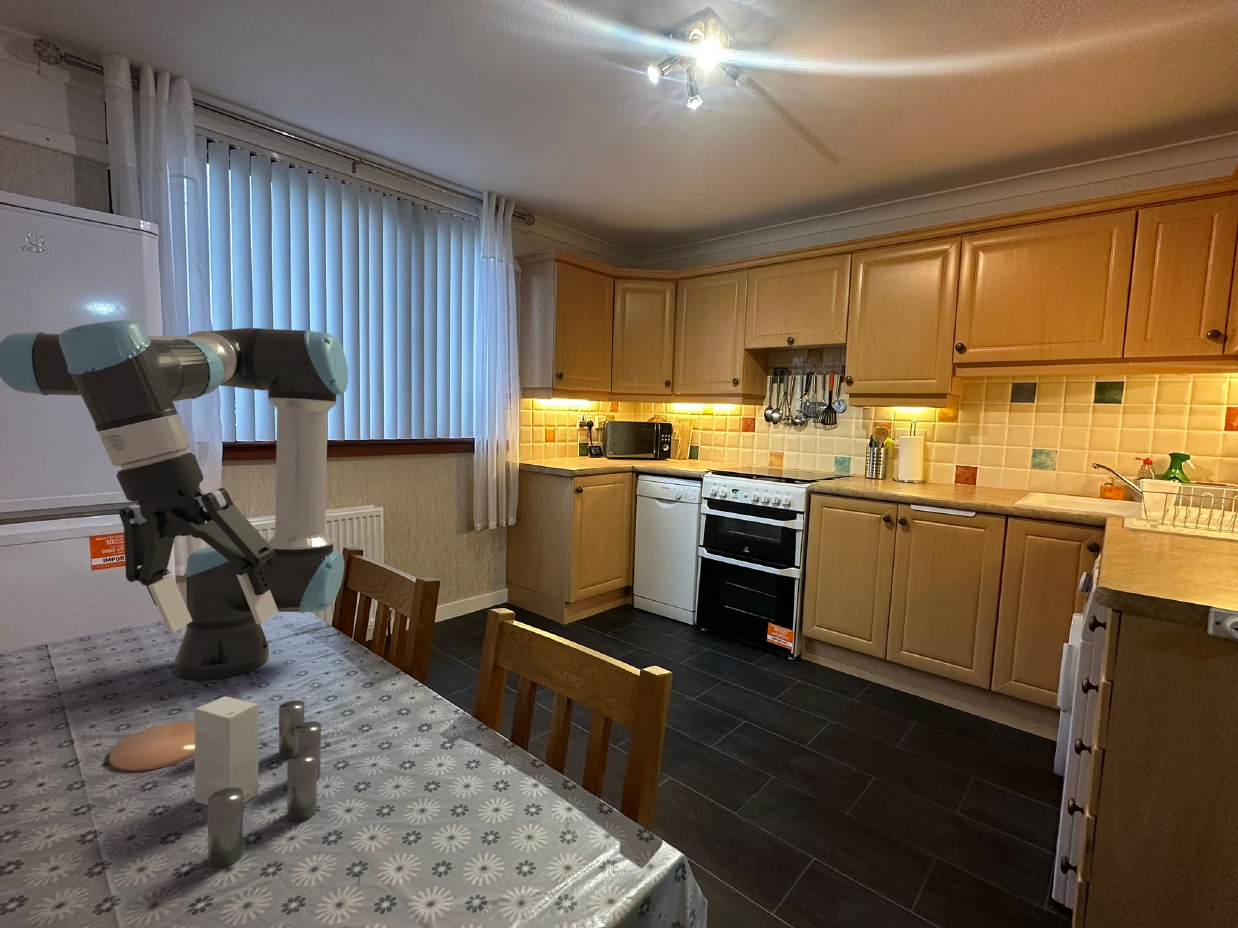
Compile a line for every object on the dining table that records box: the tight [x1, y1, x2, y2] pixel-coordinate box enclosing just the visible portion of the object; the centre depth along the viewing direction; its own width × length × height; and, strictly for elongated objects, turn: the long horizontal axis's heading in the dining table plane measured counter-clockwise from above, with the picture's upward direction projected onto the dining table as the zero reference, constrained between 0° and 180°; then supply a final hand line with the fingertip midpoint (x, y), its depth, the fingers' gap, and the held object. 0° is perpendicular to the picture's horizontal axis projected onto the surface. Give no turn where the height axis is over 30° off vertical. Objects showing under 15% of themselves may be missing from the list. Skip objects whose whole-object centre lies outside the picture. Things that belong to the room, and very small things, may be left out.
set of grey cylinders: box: [207, 700, 322, 870], centre depth 76 cm, size 21×24×7 cm
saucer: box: [109, 720, 195, 772], centre depth 86 cm, size 12×12×1 cm
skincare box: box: [194, 695, 259, 807], centre depth 75 cm, size 6×4×12 cm
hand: (223, 622), depth 73 cm, fingers open, 13 cm apart
